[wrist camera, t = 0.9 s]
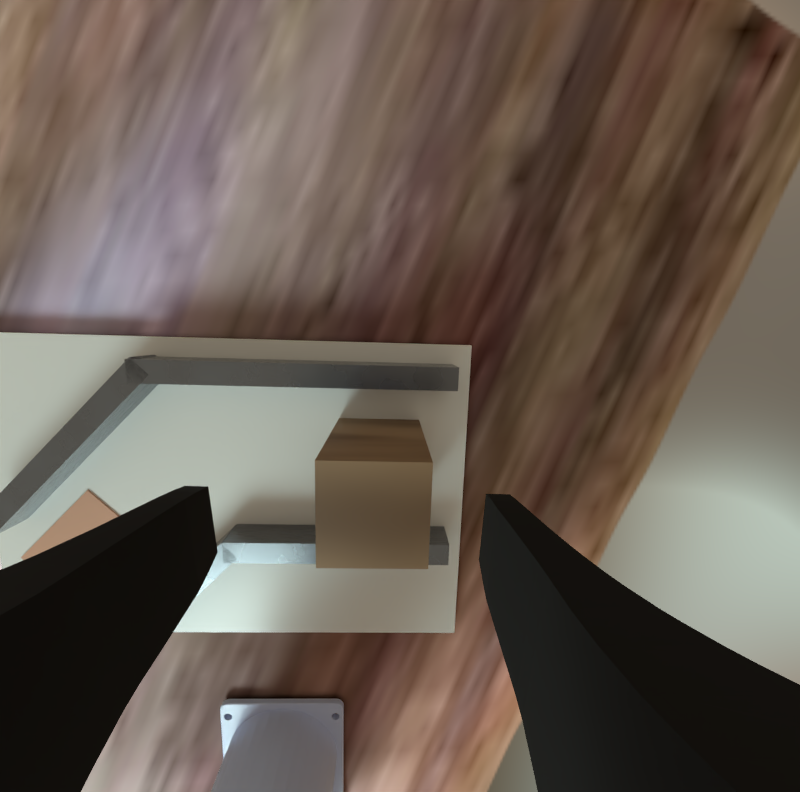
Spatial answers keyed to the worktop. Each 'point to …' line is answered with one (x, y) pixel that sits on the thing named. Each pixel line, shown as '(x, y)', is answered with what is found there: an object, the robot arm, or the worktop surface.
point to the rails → (152, 370)
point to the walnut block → (373, 495)
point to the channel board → (235, 469)
